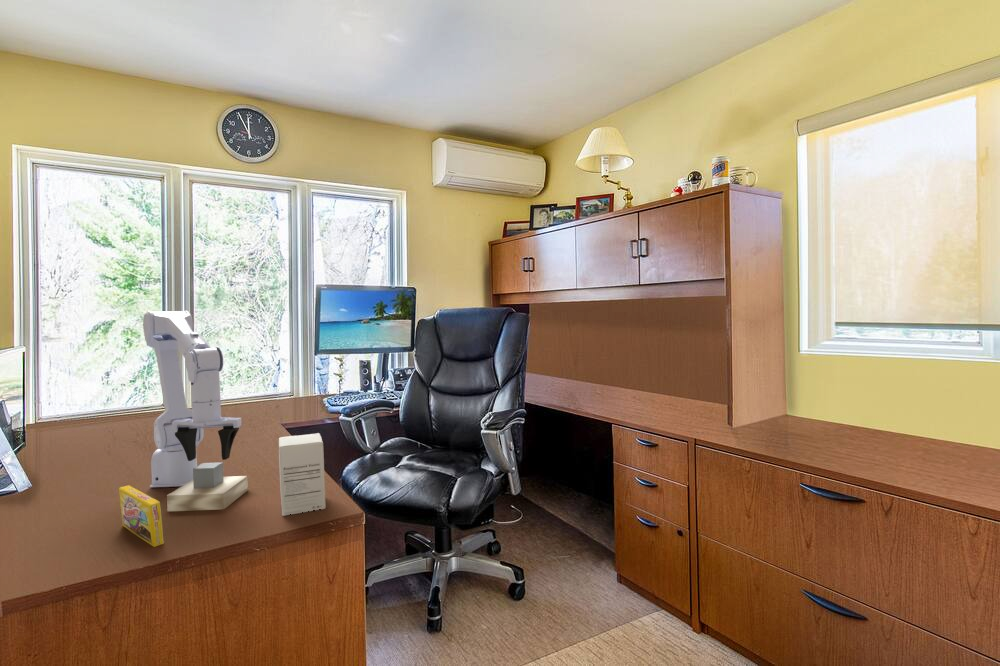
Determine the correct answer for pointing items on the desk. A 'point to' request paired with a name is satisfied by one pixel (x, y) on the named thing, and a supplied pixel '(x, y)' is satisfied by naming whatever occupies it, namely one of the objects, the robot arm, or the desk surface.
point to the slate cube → (208, 475)
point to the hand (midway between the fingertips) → (208, 459)
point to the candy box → (141, 515)
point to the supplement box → (301, 473)
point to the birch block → (207, 495)
